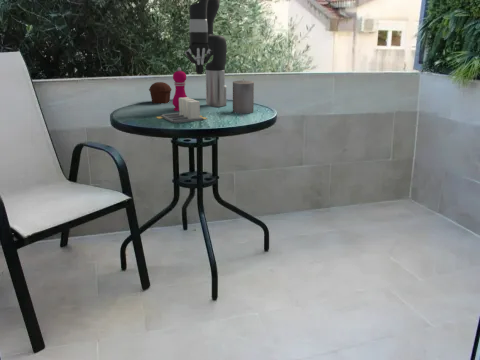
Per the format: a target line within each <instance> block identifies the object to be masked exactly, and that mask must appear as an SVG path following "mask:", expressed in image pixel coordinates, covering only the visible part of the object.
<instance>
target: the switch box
mask: <svg viewBox="0 0 480 360" xmlns="http://www.w3.org/2000/svg"><path fill="white" fill-rule="evenodd" d="M153 118H154V119H155V118H156V119H157V120H162V119H164V120H165V121H167V122H168V121H169V123H172V124H178V123H186V122H187V123H188V122H199V121H204V120H210V119H208V117H205V116H203V115H201V114H200V118H195V119H188V117H184V115H179V112H177V113H175V112H174V113H166V114H165V113H164V114H160V116H155V117H153Z"/></svg>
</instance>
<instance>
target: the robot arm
mask: <svg viewBox="0 0 480 360" xmlns="http://www.w3.org/2000/svg"><path fill="white" fill-rule="evenodd" d="M219 8H220V0H198V2H197V3H196V2H195V3H191V4H190V5H189V26H188V27H189V46H188V49H187V50H185V51H184V55H185V56H186V57H187V59H188V60H189V61H190V63H191V64H195V73H196V74H197V75H203V73H204V65H205V100H206V101H205V102H206V103H205V104H206V106H209V107H215V108H216V107H217V108H218V107H225V106H227V85H226V82H225V79H226V77H225V76H226V75H225V73H226V71H225V69H226V68H225V67H226V64H227V49H228V46H227V45H228V44H227V40H226V38H225V37H224V36H223V35H217V34H216V35H215V34H214V23H215V22H214V21H215V19H216V17H217V14H218V11H219V10H220V9H219ZM211 58H212V59H211ZM210 59H211V61H210ZM209 61H210V62H209Z"/></svg>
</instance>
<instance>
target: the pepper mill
mask: <svg viewBox="0 0 480 360" xmlns="http://www.w3.org/2000/svg"><path fill="white" fill-rule="evenodd" d="M172 79H173V81H174V82H173V83H174V86H175V93H174V95H173V97H172V105H173V111H175V112H179V98H183V97H188V96H187V94H186V89H185V86H186V80H187V74H186V73H185V71H182V68H181V67H180V66H179V67H177V71H175V72H174V73H173V75H172Z"/></svg>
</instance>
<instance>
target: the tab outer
mask: <svg viewBox="0 0 480 360" xmlns="http://www.w3.org/2000/svg"><path fill="white" fill-rule="evenodd" d="M194 100H195V99H194ZM187 105H188V119H195V118H200V115H201V112H200V111H201V110H200V109H201V106H200V105H201V103H200V101H199V100H195V101H187Z"/></svg>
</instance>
